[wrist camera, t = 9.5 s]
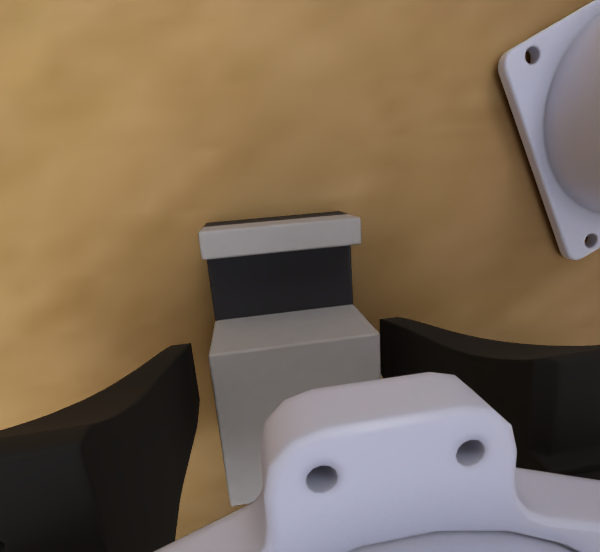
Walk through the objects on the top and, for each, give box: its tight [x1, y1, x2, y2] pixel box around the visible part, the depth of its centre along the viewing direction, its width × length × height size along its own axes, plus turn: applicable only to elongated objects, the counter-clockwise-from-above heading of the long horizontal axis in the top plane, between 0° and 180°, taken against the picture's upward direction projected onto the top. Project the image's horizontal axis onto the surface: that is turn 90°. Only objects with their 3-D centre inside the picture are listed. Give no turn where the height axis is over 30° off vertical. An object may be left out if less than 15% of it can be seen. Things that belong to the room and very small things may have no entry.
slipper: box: [198, 211, 381, 506], centre depth 12 cm, size 8×5×4 cm, turn 4°
